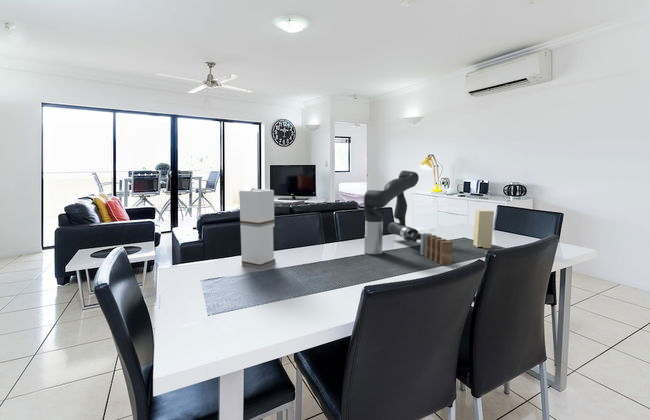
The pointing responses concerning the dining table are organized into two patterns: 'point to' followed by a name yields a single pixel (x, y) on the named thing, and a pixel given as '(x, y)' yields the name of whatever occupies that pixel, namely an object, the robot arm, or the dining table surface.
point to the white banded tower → (257, 227)
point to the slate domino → (423, 243)
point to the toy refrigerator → (483, 228)
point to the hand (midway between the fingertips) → (423, 239)
